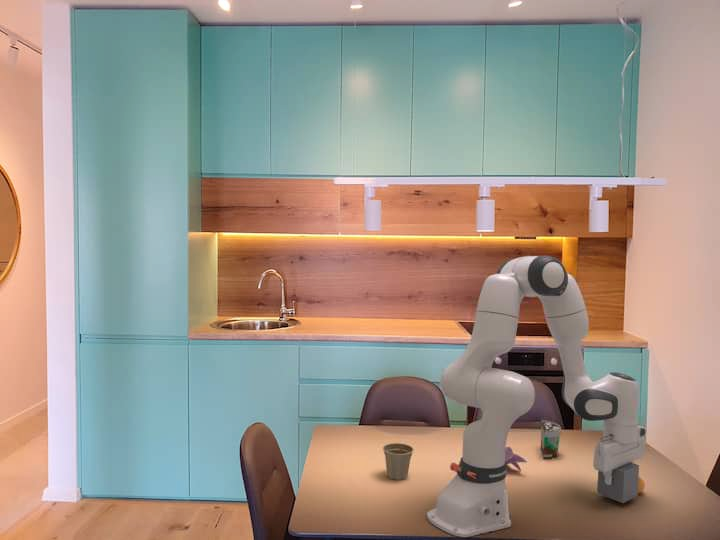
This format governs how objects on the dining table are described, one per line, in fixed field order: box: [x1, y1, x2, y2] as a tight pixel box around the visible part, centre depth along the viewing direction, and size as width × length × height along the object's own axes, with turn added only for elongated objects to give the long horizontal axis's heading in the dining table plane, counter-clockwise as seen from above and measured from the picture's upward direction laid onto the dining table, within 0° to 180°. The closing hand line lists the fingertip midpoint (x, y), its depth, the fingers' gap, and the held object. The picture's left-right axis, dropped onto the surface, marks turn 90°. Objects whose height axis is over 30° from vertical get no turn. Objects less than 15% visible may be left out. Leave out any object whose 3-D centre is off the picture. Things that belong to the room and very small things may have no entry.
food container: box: [540, 419, 563, 460], centre depth 203 cm, size 12×6×10 cm, turn 168°
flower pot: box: [382, 442, 415, 481], centre depth 182 cm, size 9×9×9 cm
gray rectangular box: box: [596, 462, 640, 504], centre depth 168 cm, size 8×8×9 cm
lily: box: [505, 446, 528, 472], centre depth 188 cm, size 12×12×10 cm
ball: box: [638, 476, 646, 494], centre depth 174 cm, size 5×5×5 cm
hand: (618, 479), depth 168 cm, fingers closed on gray rectangular box, 8 cm apart
